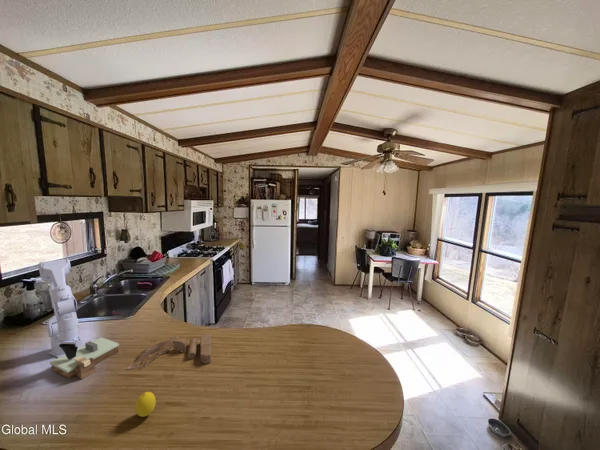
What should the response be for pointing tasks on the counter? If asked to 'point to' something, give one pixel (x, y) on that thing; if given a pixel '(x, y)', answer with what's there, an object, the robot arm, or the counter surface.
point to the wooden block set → (204, 347)
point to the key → (82, 361)
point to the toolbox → (85, 371)
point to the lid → (85, 353)
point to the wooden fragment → (152, 353)
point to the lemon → (145, 404)
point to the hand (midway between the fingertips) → (71, 357)
